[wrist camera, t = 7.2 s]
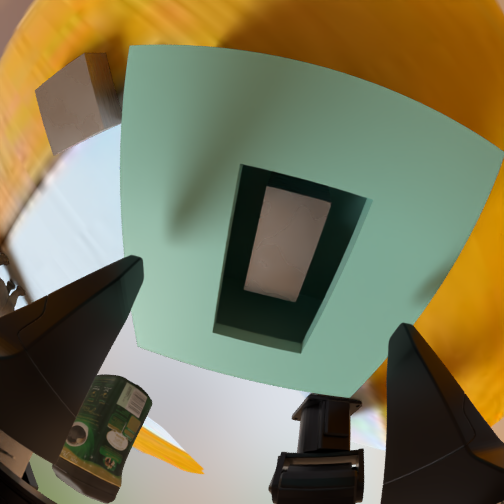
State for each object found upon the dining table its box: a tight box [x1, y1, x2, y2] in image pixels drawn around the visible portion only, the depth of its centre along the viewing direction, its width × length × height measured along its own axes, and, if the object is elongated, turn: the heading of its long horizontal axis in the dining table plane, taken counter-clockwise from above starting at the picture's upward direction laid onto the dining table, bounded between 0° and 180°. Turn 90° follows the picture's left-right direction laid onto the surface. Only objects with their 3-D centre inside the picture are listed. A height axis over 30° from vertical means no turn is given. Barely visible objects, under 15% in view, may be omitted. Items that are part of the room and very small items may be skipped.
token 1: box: [35, 53, 122, 155], centre depth 14 cm, size 5×5×2 cm
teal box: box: [120, 45, 504, 398], centre depth 13 cm, size 14×12×7 cm
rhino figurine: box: [0, 253, 25, 317], centre depth 25 cm, size 4×14×6 cm, turn 5°
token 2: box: [244, 171, 332, 302], centre depth 13 cm, size 5×2×5 cm, turn 170°
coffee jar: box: [52, 375, 152, 503], centre depth 28 cm, size 10×8×19 cm
